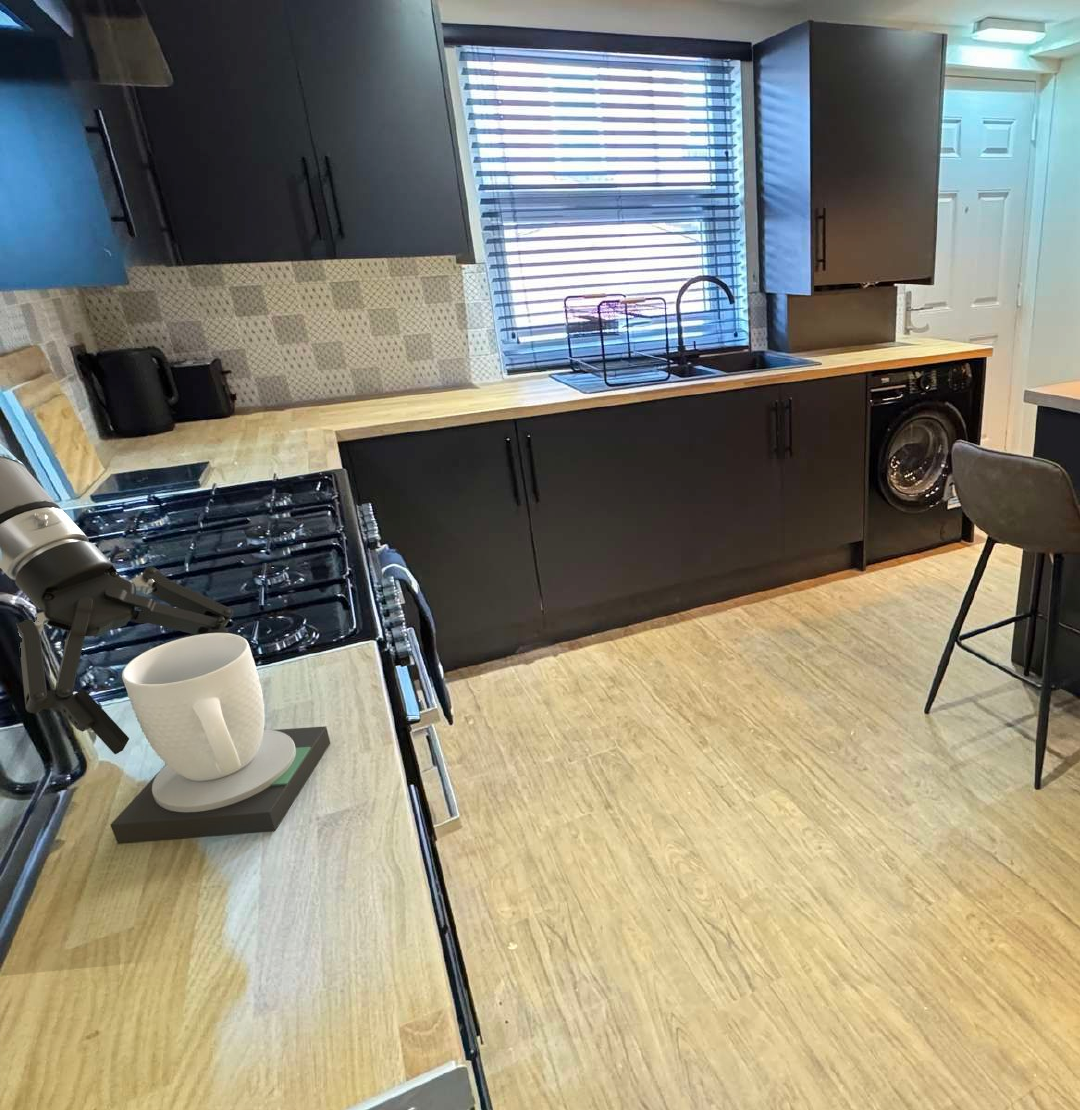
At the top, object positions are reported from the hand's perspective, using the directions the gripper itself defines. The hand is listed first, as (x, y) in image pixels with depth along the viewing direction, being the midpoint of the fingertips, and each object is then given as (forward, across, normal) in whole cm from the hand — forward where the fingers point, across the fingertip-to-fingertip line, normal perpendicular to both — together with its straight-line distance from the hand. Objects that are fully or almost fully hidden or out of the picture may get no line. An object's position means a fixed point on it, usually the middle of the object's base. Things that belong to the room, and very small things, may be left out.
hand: (190, 710), depth 83 cm
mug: (+7, 0, +2) cm, 7 cm away
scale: (+9, 0, +5) cm, 10 cm away
